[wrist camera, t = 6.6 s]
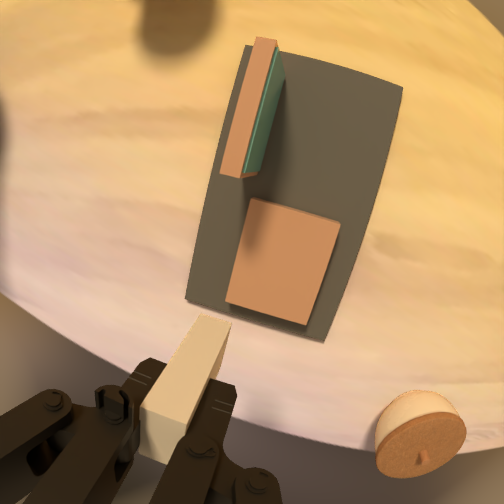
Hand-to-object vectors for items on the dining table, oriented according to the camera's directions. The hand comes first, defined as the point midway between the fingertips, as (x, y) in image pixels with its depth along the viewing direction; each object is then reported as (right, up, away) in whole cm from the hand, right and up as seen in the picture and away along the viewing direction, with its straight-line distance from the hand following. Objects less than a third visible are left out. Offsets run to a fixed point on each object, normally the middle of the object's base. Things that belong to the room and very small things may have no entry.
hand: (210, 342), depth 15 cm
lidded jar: (+22, -15, +18) cm, 32 cm away
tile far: (+1, +4, +15) cm, 15 cm away
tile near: (+3, +16, +12) cm, 20 cm away
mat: (+5, +9, +14) cm, 18 cm away
